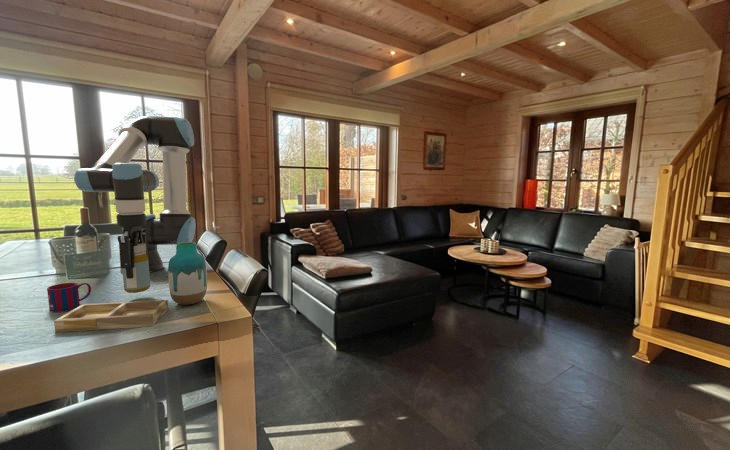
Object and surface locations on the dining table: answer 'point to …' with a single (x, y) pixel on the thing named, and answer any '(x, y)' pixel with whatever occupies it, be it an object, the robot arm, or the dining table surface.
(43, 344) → the dining table surface
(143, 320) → the caddy
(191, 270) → the vase
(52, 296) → the mug
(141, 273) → the bottle
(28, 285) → the dining table surface
